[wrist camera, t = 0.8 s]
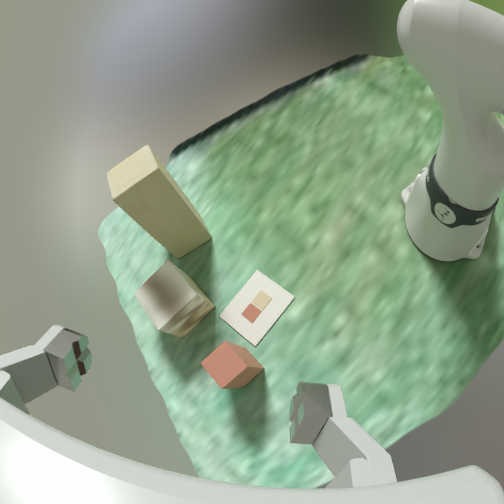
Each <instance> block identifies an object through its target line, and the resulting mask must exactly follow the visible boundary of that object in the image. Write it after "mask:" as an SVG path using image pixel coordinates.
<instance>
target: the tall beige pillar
mask: <svg viewBox="0 0 504 504" xmlns="http://www.w3.org/2000/svg"><path fill="white" fill-rule="evenodd" d="M107 178H108V182H109V186H110V191H111V195H112V199H113V201H114V202H115V203H116V204H117V205H118V206H119V207H120V208H121V209H123V210H124V211H125V212H126V213H127V214H128V215H129V216H130V217H131V218H132V219H133V220H134V221H136V222H137V223H138V224H139V225H140V226H141V227H142V228H143V229H144V230H145V231H147V232H148V233H149V234H150V235H151V236H152V237H153V238H154V239H155V240H157V241H158V242H159V243H160V244H161V245H162V246H163V247H165V248H166V249H167V250H168V251H169V252H170V253H171V254H172V255H174V256H175V257H176V258H177V259H179V258H181V257H183V256H184V255H186V254H187V253H189V252H191V251H192V250H194V249H195V248H197V247H198V246H200V245H202V244H203V243H205V242H207V241H208V240H210V239H211V238H212V236H211V234H210V233H209V231H208V229H207V227H206V225H205V223H204V221H203V220H202V218H201V216H200V214H199V213H198V211H197V210H196V209H195V207H194V206H193V205H192V203H191V202H190V200H189V199H188V198H187V196H186V195H185V194H184V192H183V191H182V190H181V188H180V187H179V186H178V184H177V183H176V182H175V180H174V179H173V178H172V176H171V175H170V173H169V172H168V171H167V169H166V168H165V167H164V165H163V164H162V163H161V161H160V160H159V158H158V157H157V156H156V155H155V153H154V152H153V151H152V149H151V148H150V146H149V145H146V146H144V147H143V148H142V149H140V150H138V151H137V152H135V153H134V154H133V155H131V156H130V157H128V158H127V159H125V160H124V161H123V162H121V163H120V164H118V165H117V166H116V167H114V168H113V169H111V170H110V171H109V172H108V173H107Z"/></svg>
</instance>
